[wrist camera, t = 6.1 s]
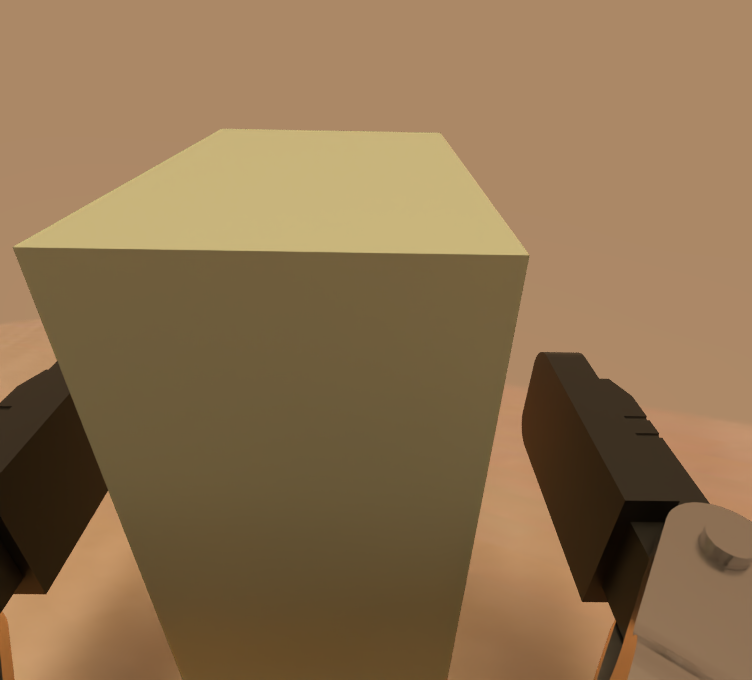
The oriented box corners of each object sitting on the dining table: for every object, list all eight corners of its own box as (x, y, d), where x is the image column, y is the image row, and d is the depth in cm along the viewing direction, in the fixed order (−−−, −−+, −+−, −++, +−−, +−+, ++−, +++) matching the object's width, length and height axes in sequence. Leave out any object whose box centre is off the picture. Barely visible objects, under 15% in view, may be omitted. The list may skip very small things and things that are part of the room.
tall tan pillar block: (223, 781, 10) (12, 247, 4) (276, 523, 15) (221, 128, 9) (427, 782, 10) (528, 255, 4) (408, 524, 15) (440, 132, 9)
